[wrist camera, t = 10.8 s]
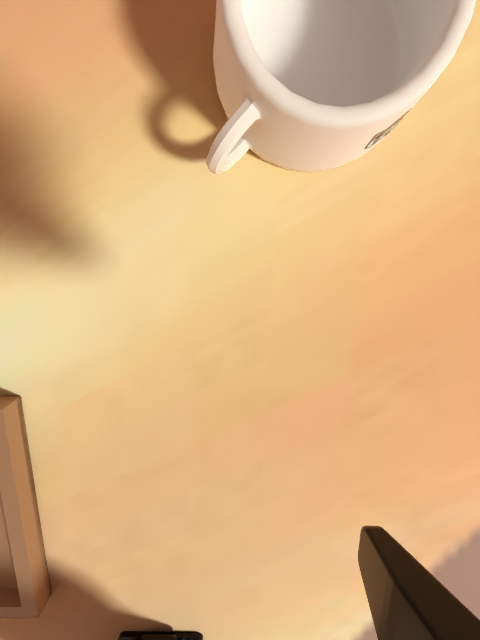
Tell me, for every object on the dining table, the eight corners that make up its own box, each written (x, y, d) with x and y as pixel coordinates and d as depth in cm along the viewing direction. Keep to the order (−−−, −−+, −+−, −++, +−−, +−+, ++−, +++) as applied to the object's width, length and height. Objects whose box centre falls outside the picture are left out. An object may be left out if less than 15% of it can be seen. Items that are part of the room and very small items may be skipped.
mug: (315, -100, 15) (366, -329, 9) (446, 70, 16) (563, -28, 10) (145, 113, 17) (94, 41, 11) (276, 246, 18) (294, 247, 12)
